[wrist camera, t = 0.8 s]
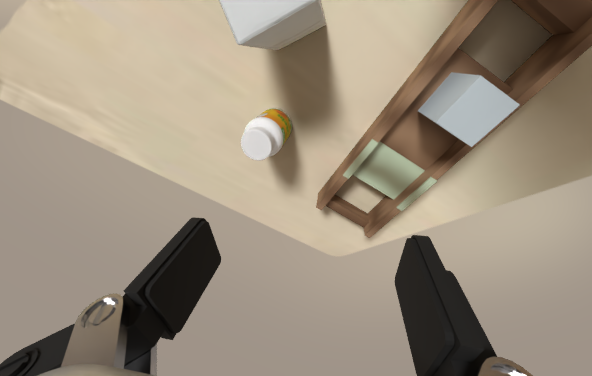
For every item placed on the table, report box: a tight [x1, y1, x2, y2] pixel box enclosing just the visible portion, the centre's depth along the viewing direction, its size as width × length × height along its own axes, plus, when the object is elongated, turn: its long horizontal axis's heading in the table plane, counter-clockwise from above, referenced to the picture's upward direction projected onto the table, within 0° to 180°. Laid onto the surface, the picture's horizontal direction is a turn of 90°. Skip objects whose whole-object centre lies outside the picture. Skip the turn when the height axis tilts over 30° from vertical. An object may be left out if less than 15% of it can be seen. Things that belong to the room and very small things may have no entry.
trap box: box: [316, 0, 592, 238], centre depth 28 cm, size 35×11×5 cm, turn 151°
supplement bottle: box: [241, 108, 292, 160], centre depth 30 cm, size 5×5×10 cm
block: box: [418, 72, 520, 147], centre depth 23 cm, size 5×5×6 cm
